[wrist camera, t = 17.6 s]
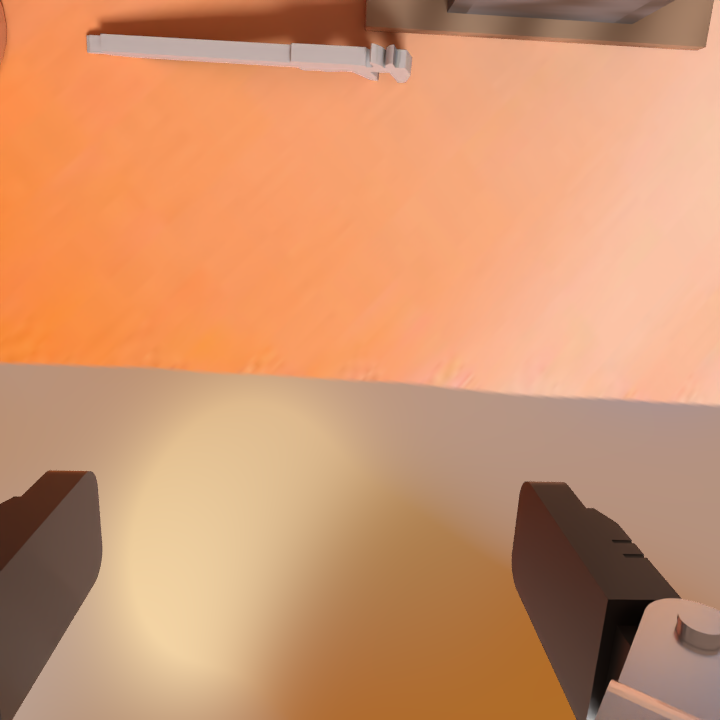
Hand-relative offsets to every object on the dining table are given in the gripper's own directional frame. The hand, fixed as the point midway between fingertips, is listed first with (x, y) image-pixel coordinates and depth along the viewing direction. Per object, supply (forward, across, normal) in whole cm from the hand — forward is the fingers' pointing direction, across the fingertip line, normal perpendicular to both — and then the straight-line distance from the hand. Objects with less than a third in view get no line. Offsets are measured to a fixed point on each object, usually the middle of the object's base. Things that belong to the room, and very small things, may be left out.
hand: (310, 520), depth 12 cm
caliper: (+34, +5, -14) cm, 37 cm away
